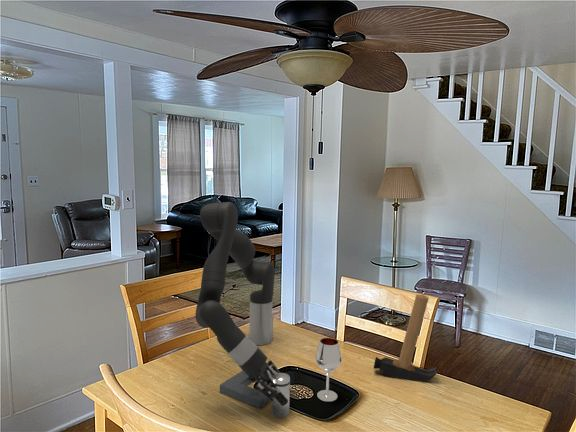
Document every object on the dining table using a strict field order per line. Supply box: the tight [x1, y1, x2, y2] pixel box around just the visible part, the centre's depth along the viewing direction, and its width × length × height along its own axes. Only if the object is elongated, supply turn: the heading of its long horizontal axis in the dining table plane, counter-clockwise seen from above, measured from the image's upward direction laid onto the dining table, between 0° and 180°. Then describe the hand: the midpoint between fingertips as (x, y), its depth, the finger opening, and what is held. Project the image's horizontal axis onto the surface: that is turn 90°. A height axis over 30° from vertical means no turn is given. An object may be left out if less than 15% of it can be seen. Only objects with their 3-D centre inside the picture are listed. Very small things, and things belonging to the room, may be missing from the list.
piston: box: [271, 372, 291, 419], centre depth 121 cm, size 5×5×11 cm
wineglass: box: [315, 337, 343, 402], centre depth 130 cm, size 8×8×18 cm
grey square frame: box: [219, 370, 273, 410], centre depth 134 cm, size 16×16×2 cm
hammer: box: [373, 294, 437, 383], centre depth 143 cm, size 20×5×30 cm, turn 76°
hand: (287, 398), depth 121 cm, fingers closed on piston, 5 cm apart
